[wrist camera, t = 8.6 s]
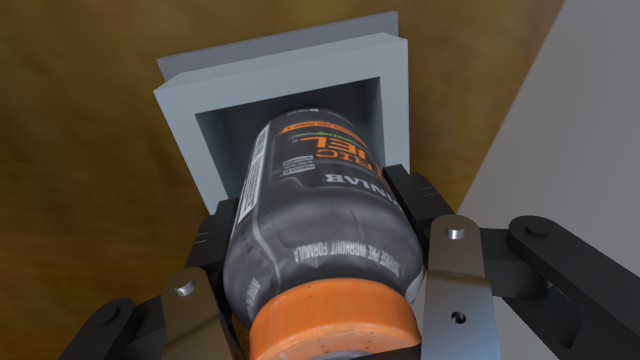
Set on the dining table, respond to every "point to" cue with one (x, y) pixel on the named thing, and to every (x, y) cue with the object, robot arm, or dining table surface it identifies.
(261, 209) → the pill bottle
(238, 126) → the holder
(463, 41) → the dining table surface
